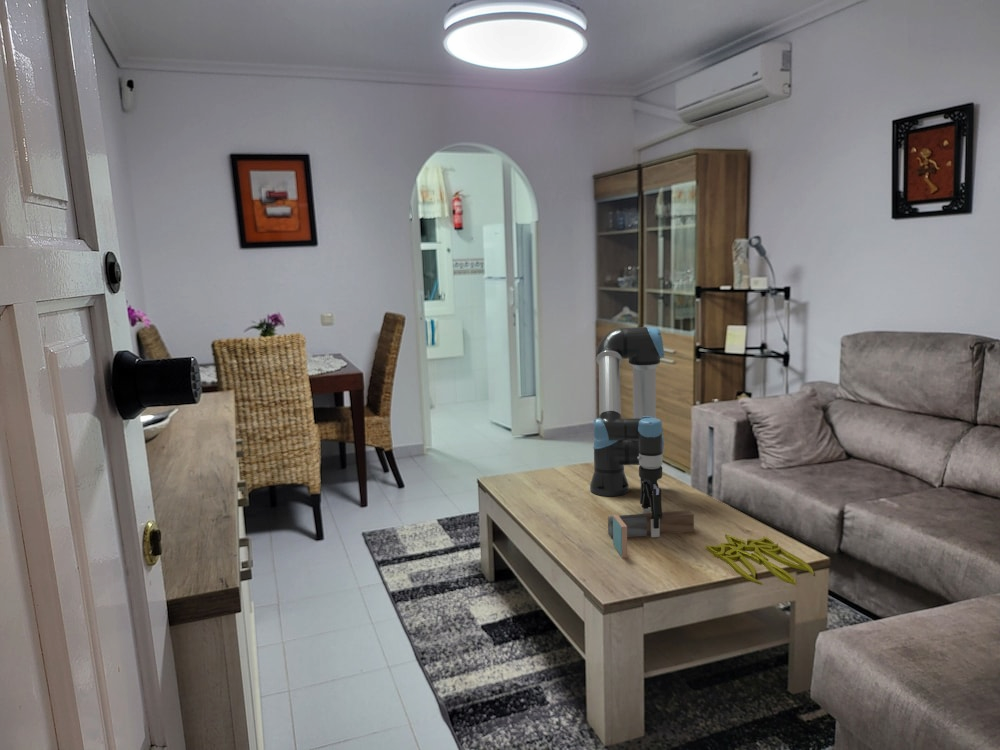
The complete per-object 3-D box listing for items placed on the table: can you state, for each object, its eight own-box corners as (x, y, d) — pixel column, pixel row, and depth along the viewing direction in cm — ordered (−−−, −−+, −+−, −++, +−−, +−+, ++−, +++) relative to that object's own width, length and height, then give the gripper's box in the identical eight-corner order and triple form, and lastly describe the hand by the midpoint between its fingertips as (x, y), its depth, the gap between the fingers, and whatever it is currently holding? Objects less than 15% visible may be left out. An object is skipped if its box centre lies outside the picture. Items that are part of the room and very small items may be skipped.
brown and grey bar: (608, 533, 225) (607, 516, 224) (689, 526, 228) (689, 509, 227) (611, 538, 221) (611, 520, 220) (693, 531, 224) (693, 514, 223)
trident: (755, 529, 221) (830, 575, 187) (755, 533, 221) (830, 581, 187) (693, 538, 216) (760, 587, 182) (693, 542, 216) (760, 593, 182)
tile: (613, 544, 216) (612, 515, 214) (618, 544, 216) (617, 514, 215) (621, 557, 206) (621, 526, 205) (627, 557, 206) (627, 526, 205)
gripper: (629, 457, 230) (630, 521, 234) (649, 476, 210) (650, 545, 214) (651, 456, 231) (651, 519, 235) (673, 474, 211) (673, 543, 215)
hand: (650, 531), depth 224 cm, fingers open, 8 cm apart
